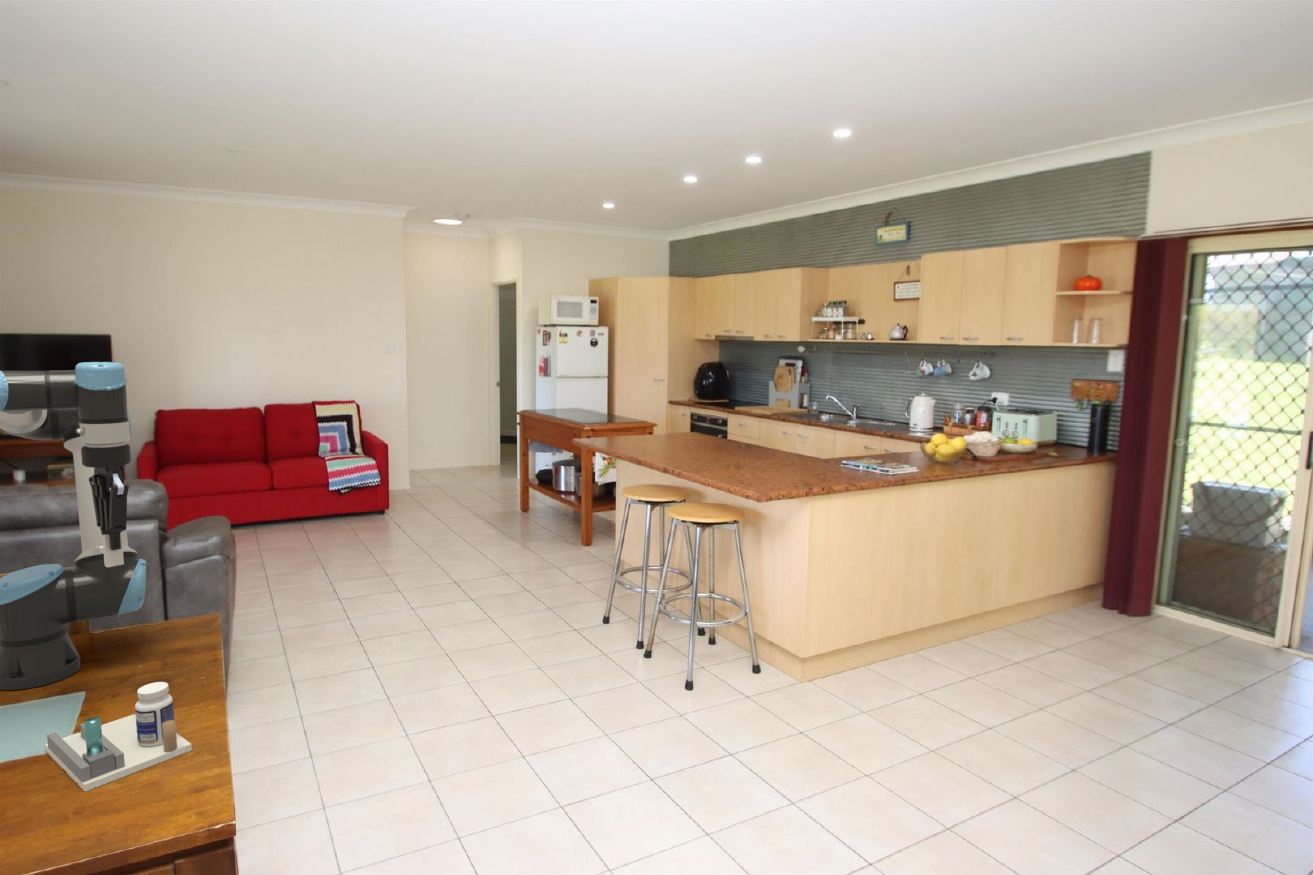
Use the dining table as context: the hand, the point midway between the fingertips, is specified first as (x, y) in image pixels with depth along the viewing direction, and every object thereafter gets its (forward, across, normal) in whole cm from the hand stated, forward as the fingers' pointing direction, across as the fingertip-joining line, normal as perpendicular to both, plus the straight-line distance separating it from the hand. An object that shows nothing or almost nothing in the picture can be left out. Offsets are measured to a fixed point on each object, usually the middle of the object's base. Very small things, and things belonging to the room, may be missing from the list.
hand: (114, 564), depth 145 cm
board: (+30, +16, -6) cm, 34 cm away
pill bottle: (+29, +20, -1) cm, 35 cm away
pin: (+28, +22, -11) cm, 37 cm away
